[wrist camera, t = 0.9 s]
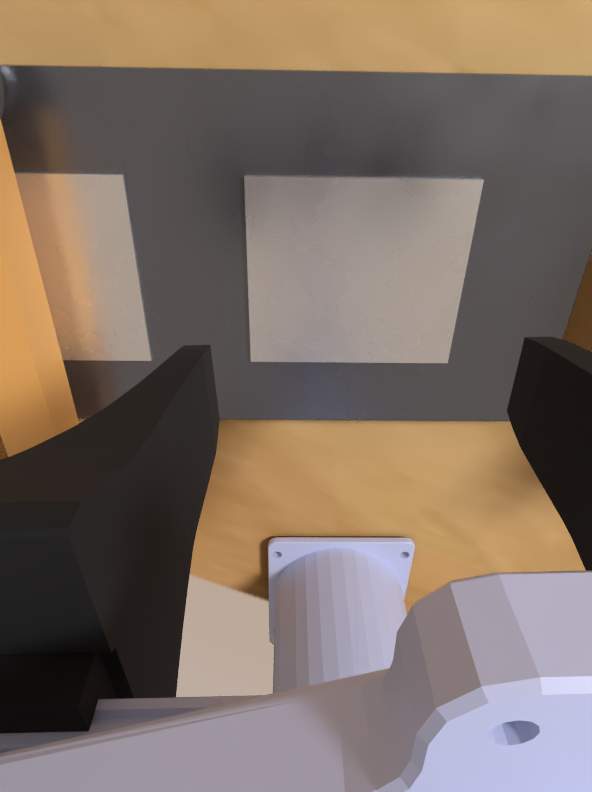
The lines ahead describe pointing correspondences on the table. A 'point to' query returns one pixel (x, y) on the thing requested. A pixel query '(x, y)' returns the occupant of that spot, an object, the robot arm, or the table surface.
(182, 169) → the psu panel
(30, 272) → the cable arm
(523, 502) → the table surface
